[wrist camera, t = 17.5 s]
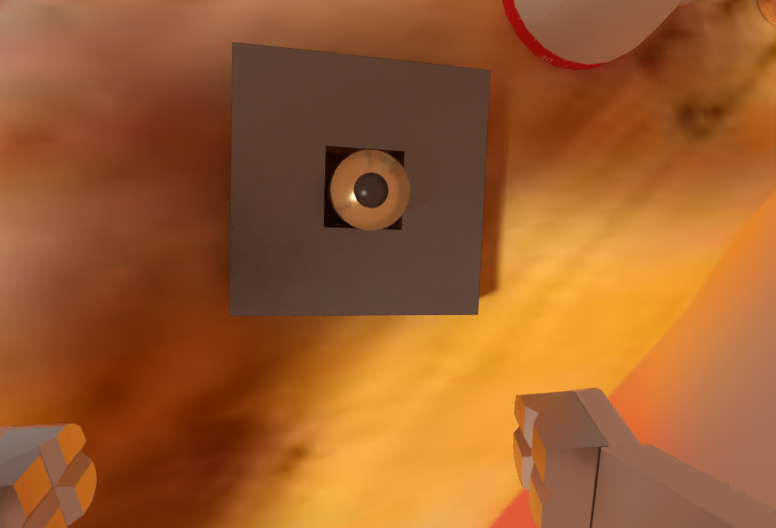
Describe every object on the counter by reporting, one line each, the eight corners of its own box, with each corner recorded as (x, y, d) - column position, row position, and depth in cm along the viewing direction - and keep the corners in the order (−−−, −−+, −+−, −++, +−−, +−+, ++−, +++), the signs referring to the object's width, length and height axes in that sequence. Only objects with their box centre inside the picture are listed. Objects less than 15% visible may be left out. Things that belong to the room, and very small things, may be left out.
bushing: (320, 226, 39) (331, 230, 31) (320, 160, 39) (331, 148, 31) (383, 226, 40) (409, 230, 33) (384, 162, 40) (410, 151, 32)
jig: (233, 306, 38) (229, 316, 34) (236, 60, 37) (232, 42, 33) (459, 305, 42) (478, 314, 38) (469, 84, 41) (490, 70, 37)
